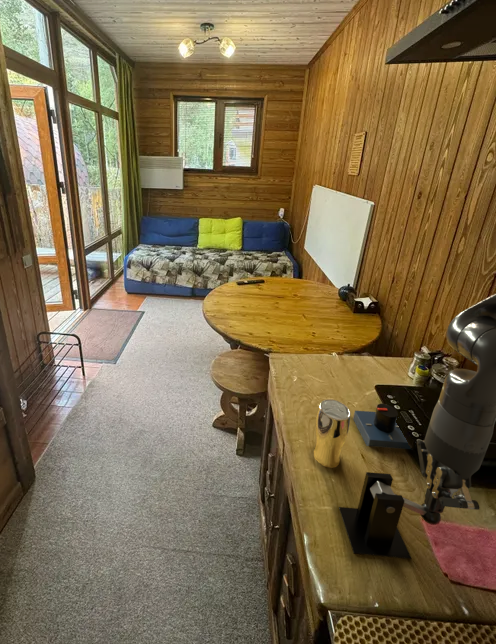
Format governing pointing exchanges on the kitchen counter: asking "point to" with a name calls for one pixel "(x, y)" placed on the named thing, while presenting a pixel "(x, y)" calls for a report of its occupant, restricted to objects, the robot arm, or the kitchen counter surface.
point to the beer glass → (331, 431)
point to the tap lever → (408, 504)
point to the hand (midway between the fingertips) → (432, 507)
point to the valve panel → (378, 432)
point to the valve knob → (385, 418)
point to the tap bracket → (375, 521)
